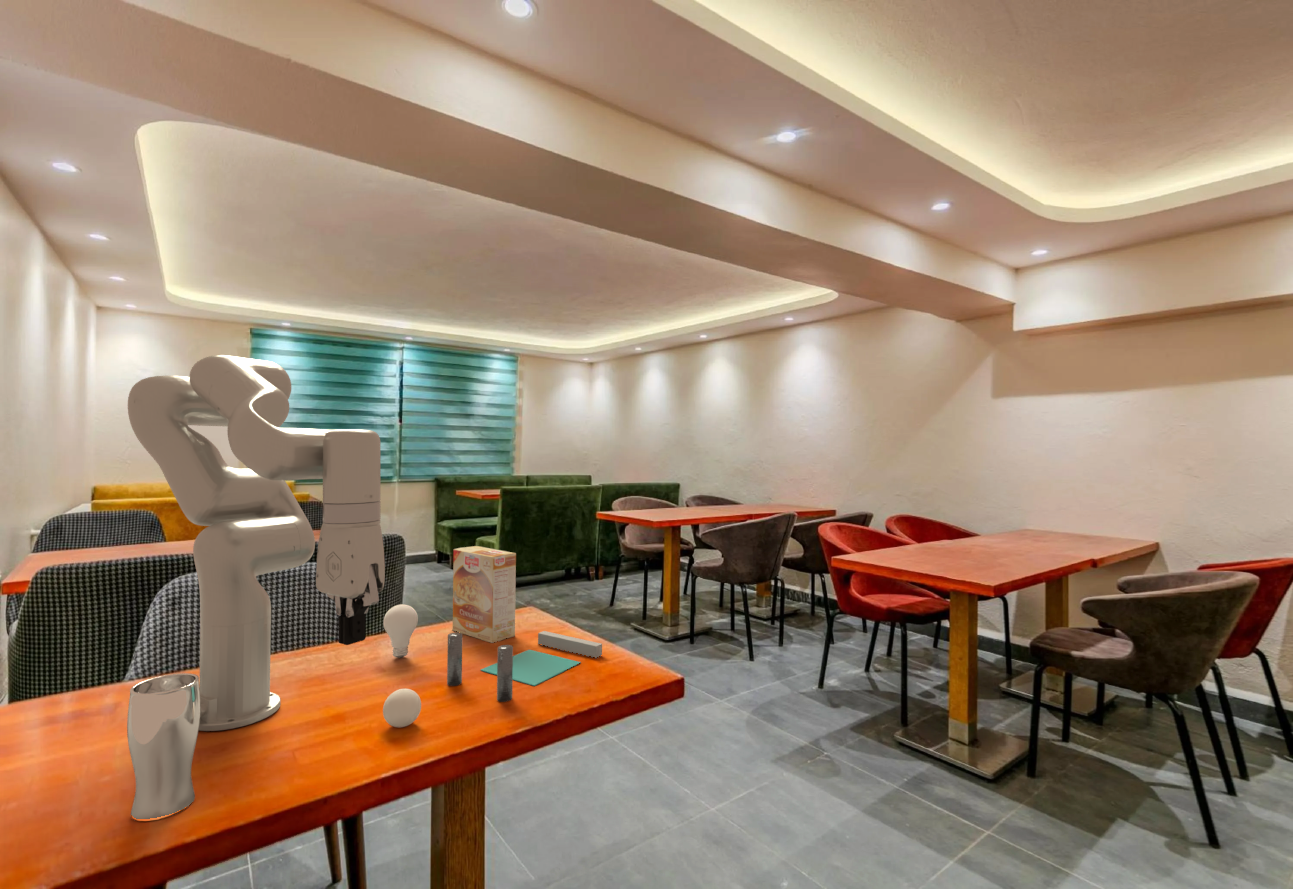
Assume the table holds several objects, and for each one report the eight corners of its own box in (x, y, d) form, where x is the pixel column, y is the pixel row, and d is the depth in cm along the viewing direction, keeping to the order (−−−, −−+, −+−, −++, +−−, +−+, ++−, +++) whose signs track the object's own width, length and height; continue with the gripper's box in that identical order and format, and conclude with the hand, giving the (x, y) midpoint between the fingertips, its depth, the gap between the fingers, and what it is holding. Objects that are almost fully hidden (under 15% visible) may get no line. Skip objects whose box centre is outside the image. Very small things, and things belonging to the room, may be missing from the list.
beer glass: (149, 830, 69) (150, 699, 69) (112, 816, 71) (113, 689, 71) (212, 797, 75) (214, 677, 75) (176, 785, 78) (178, 669, 78)
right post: (504, 703, 103) (505, 650, 103) (493, 699, 105) (494, 648, 105) (515, 697, 106) (516, 646, 106) (504, 694, 107) (505, 643, 107)
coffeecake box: (451, 630, 143) (452, 548, 143) (475, 623, 149) (477, 545, 149) (491, 644, 134) (492, 556, 134) (516, 636, 140) (517, 552, 140)
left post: (453, 687, 110) (454, 637, 110) (444, 684, 111) (444, 635, 111) (464, 682, 112) (465, 634, 112) (455, 679, 114) (455, 631, 114)
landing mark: (534, 686, 111) (534, 685, 111) (480, 670, 118) (480, 669, 118) (580, 663, 123) (580, 662, 123) (529, 650, 130) (529, 649, 130)
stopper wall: (596, 658, 126) (596, 646, 126) (538, 644, 134) (538, 633, 134) (601, 655, 127) (602, 643, 127) (543, 642, 136) (544, 630, 136)
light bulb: (382, 655, 126) (383, 602, 126) (416, 650, 129) (416, 599, 129) (383, 665, 120) (383, 610, 120) (418, 661, 123) (419, 607, 123)
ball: (398, 737, 91) (398, 700, 91) (374, 728, 94) (375, 692, 94) (428, 723, 96) (429, 687, 96) (405, 714, 99) (406, 680, 99)
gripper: (297, 514, 88) (297, 640, 88) (359, 520, 80) (359, 658, 80) (345, 510, 94) (345, 627, 94) (407, 514, 86) (408, 643, 86)
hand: (352, 641), depth 87 cm, fingers closed
